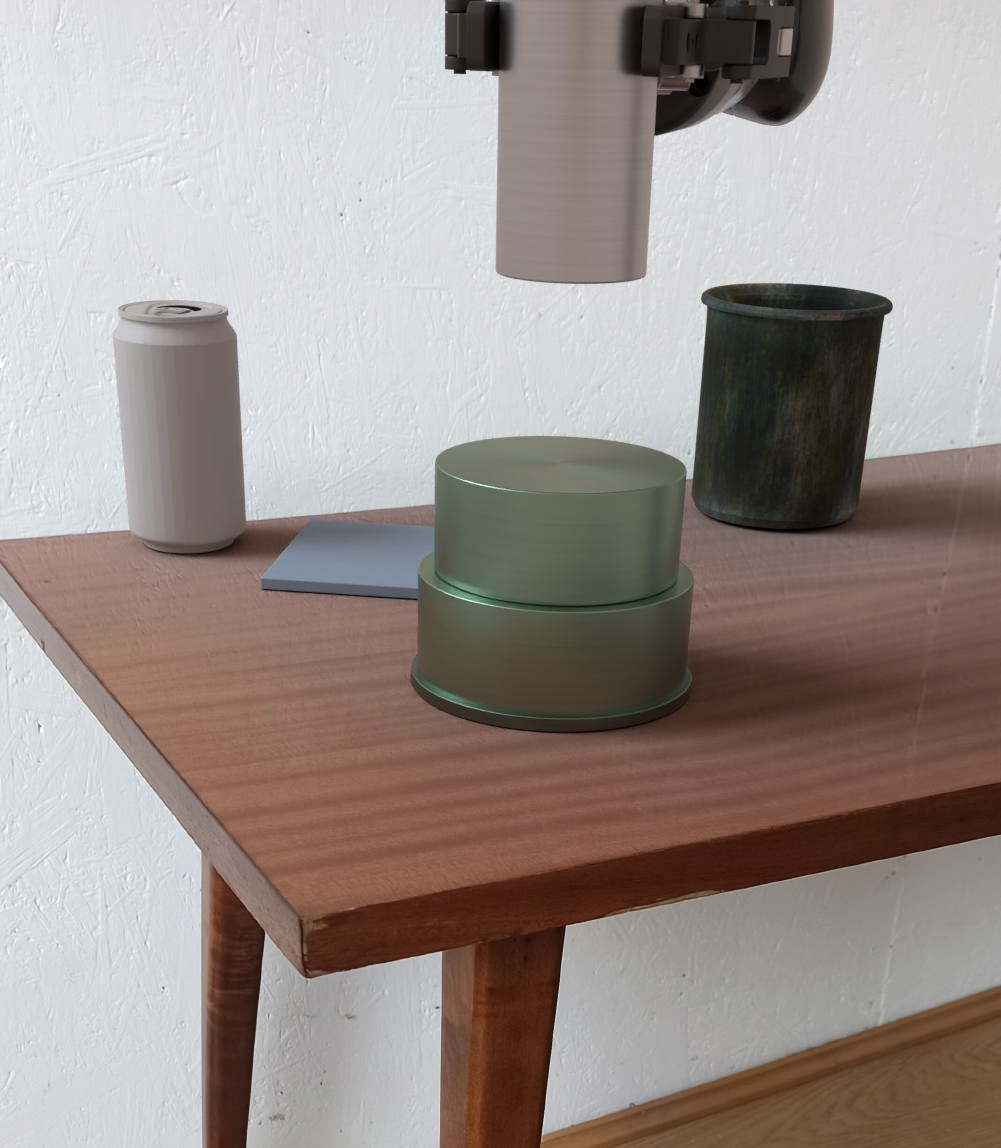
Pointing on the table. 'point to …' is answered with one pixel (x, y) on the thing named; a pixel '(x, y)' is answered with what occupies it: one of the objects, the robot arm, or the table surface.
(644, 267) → the silver lidded canister
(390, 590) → the mat
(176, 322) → the beverage can
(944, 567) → the table surface
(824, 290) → the dark green bucket
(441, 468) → the green tiered metal tin
